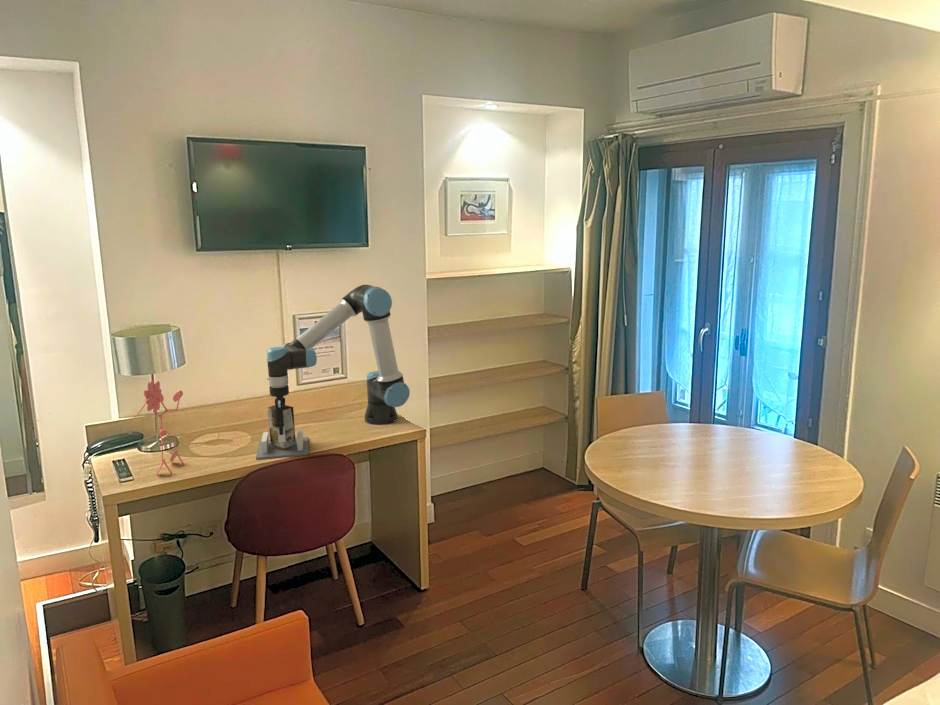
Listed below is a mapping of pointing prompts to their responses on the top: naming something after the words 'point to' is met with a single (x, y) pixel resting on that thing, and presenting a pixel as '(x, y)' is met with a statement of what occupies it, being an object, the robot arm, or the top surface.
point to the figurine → (153, 402)
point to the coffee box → (288, 424)
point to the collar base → (276, 452)
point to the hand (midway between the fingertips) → (282, 437)
